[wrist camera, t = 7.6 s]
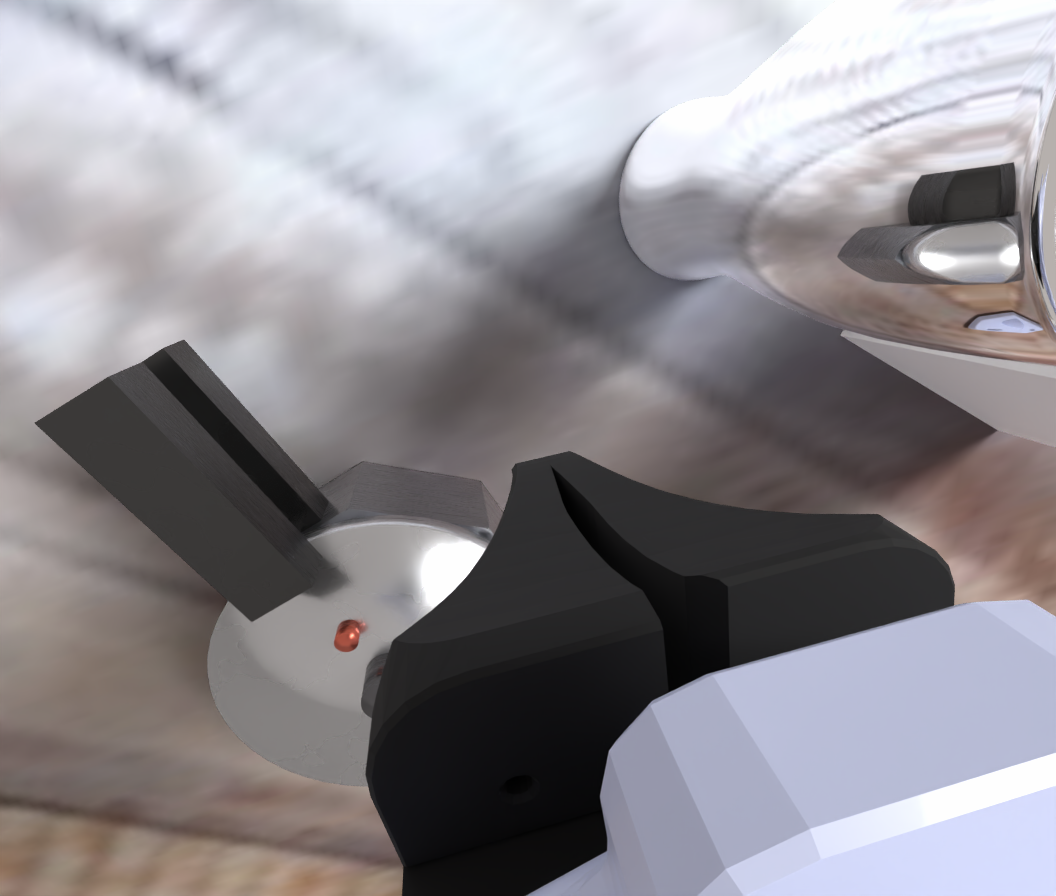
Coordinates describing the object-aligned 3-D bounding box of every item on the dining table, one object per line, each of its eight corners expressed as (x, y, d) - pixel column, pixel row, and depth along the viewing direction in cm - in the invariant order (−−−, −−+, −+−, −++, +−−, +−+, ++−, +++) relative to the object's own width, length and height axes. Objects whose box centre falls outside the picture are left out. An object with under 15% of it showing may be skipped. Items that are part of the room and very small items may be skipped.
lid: (599, 673, 22) (616, 721, 20) (355, 808, 23) (347, 869, 21) (307, 261, 14) (284, 266, 12) (-51, 484, 15) (-132, 527, 13)
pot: (589, 633, 27) (614, 696, 23) (395, 745, 28) (390, 823, 24) (320, 257, 18) (292, 262, 15) (47, 434, 19) (-45, 482, 15)
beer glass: (593, 283, 20) (930, 386, 6) (622, 70, 18) (1277, -502, 4) (754, 298, 21) (1317, 408, 8) (802, 101, 19) (1765, -247, 5)
